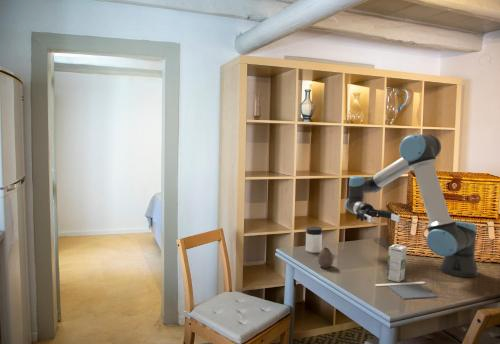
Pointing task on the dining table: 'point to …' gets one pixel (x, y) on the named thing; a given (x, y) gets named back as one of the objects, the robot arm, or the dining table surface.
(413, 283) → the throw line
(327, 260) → the vase
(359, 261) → the dining table surface
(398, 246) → the syrup box
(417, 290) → the mat
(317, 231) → the jar
